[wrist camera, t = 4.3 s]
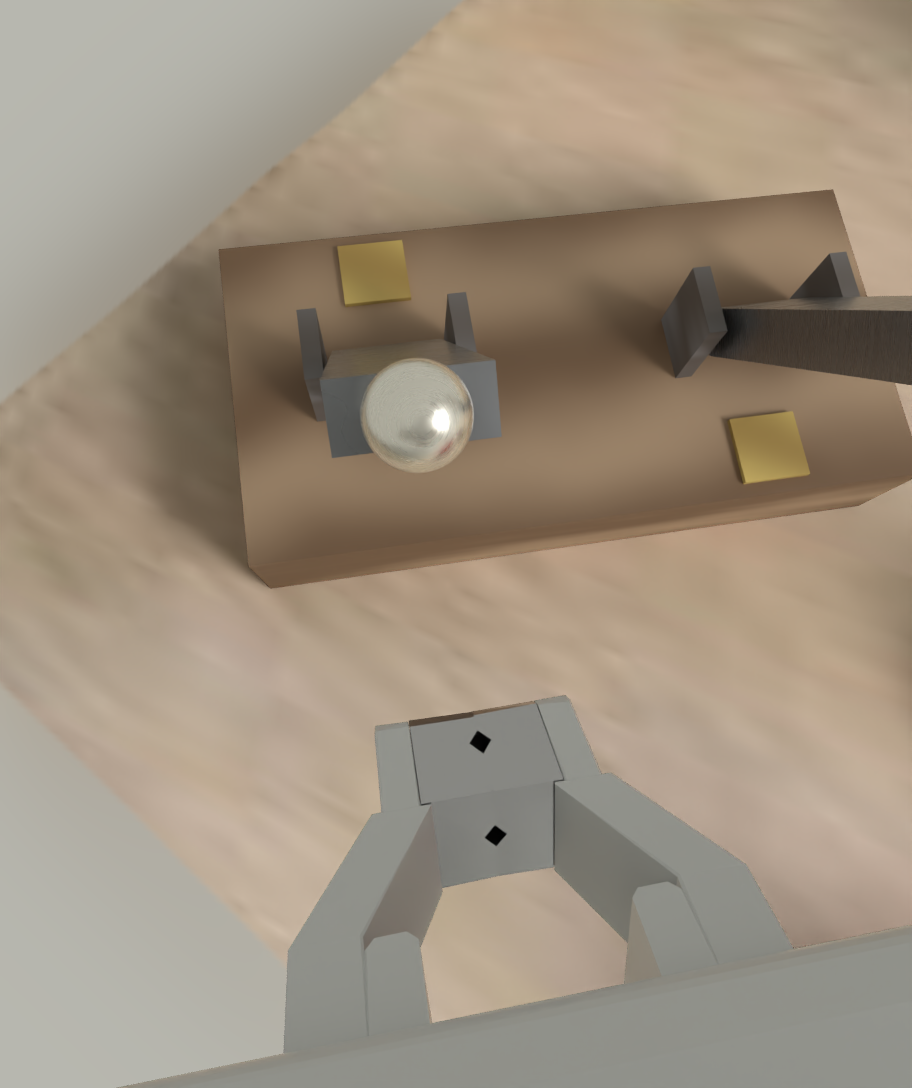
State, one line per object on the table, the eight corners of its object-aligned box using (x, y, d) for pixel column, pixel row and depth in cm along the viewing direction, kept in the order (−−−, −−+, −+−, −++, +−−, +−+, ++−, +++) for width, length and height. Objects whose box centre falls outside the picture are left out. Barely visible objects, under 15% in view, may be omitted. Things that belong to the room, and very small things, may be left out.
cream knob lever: (446, 396, 25) (524, 471, 14) (341, 408, 25) (331, 496, 13) (439, 329, 25) (515, 350, 13) (330, 341, 24) (312, 374, 13)
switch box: (858, 505, 30) (991, 439, 24) (270, 588, 28) (224, 542, 21) (783, 252, 33) (882, 125, 26) (242, 309, 31) (193, 187, 24)
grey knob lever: (805, 353, 26) (1148, 390, 15) (709, 364, 26) (986, 411, 15) (808, 288, 26) (1171, 275, 14) (709, 299, 25) (1001, 295, 14)
